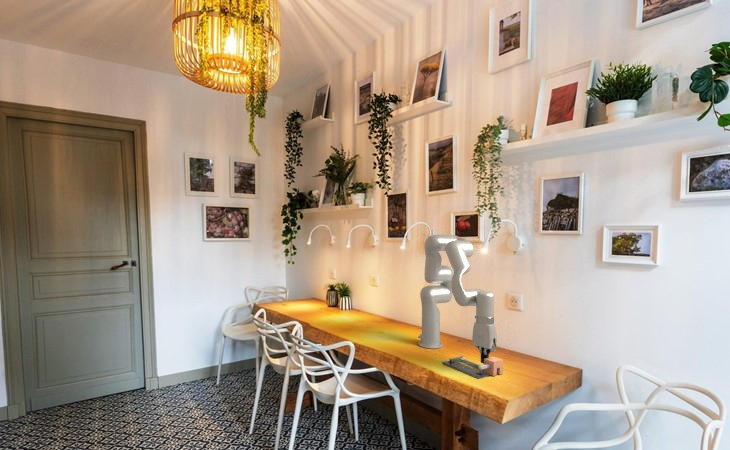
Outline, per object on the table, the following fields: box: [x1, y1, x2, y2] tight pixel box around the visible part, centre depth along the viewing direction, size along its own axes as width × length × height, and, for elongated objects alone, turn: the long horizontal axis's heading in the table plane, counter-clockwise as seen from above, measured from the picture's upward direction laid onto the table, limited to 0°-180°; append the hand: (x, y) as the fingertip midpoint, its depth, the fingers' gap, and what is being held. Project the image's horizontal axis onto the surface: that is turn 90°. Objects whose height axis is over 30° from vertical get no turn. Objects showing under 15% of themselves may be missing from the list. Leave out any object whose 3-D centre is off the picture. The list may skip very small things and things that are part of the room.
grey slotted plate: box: [448, 355, 484, 371], centre depth 167 cm, size 21×9×2 cm, turn 32°
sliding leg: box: [478, 356, 504, 377], centre depth 160 cm, size 5×12×6 cm, turn 122°
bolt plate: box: [442, 360, 489, 380], centre depth 165 cm, size 21×6×1 cm, turn 32°
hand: (484, 362), depth 165 cm, fingers closed
